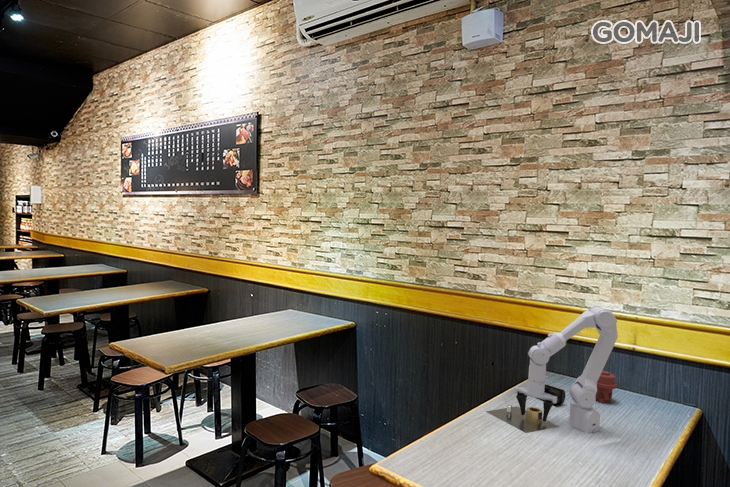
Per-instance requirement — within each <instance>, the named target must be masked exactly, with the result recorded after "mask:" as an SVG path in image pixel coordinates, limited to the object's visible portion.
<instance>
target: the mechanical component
mask: <svg viewBox="0 0 730 487" xmlns="http://www.w3.org/2000/svg"><path fill="white" fill-rule="evenodd" d="M616 388H618V383H617V382H616V375H614V374H613V373H610V372H609V371H606V370H602V372H601V375H600V377H599V379H598V381H597V392H596V396H595V397H596V400H598V403H601V404H603V403H611V402H612V399H613V390H615V389H616Z"/></svg>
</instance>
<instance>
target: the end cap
mask: <svg viewBox="0 0 730 487" xmlns="http://www.w3.org/2000/svg"><path fill="white" fill-rule="evenodd" d="M544 392H545V393H547V394H550V395H553V396H556V397H557V403H554V404H553V406H552V407H555V408H558V407H561V406H562V405H563V404H564V402H565V400H566V391H565V390H564V389H562V388H559V387H555V386H554V385H553V386H552V385H550V384H546V383H545V389H544ZM535 399H536V400H539V401H541V402H543V403H544V402H545V401H546V400H542V399H539V398H535Z"/></svg>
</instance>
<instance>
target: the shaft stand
mask: <svg viewBox="0 0 730 487" xmlns="http://www.w3.org/2000/svg"><path fill="white" fill-rule="evenodd" d="M526 411H527V409H525V414H524V415H521V409H520V406H517V405H516V406H513V405H512V404H507V405H506V407H504V408H499V409H492V410H486V411H485V412H486V413H488V415H491V416H493V417H494V418H496V419H499V420H500V421H502V422H505V423H506V424H508V425H510V426H512V427H514V428H516V429H517V430H519V431H522V432H523V433H525V434H529V433H533V432H534V433H535V432H539V431H544V430H548V429H549V430H550V429H554V428H559V427H560V426H559V425H558V424H555V423H553V422H551V421H549V420H546V421H545V422H544V421H543V417H542V423H540V424H534V423H530V422H528V421H526Z"/></svg>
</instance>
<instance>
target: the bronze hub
mask: <svg viewBox="0 0 730 487" xmlns="http://www.w3.org/2000/svg"><path fill="white" fill-rule="evenodd" d="M542 418H543V409H541V408H539V407H536V406H535V407H534V406H527V407H526V421H528V422H530V423H534V424H540V423H542Z"/></svg>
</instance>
